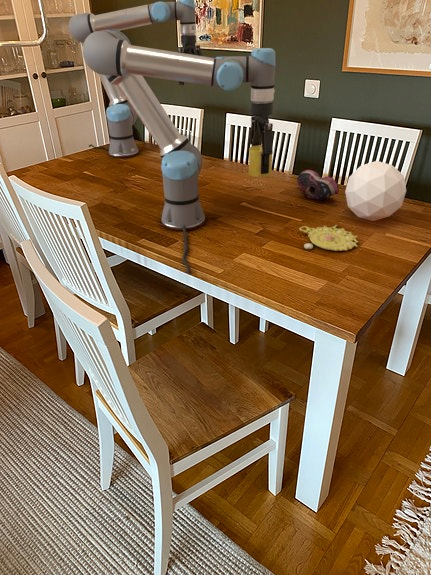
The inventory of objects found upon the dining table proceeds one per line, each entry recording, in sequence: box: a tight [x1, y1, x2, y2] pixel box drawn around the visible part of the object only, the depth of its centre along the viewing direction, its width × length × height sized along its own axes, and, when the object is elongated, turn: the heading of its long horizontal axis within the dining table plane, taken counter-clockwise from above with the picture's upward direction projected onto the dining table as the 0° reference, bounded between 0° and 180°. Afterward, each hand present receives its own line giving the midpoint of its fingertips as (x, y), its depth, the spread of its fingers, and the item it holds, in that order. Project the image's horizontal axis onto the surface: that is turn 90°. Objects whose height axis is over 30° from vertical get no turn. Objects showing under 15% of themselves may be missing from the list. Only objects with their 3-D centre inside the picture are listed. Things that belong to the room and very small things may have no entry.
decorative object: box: [299, 224, 359, 252], centre depth 141 cm, size 21×2×20 cm
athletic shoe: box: [294, 169, 340, 201], centre depth 171 cm, size 11×22×12 cm
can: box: [248, 144, 273, 178], centre depth 156 cm, size 8×8×9 cm
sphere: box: [344, 160, 407, 222], centre depth 150 cm, size 19×20×20 cm
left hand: (190, 83), depth 223 cm, fingers open, 13 cm apart
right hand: (260, 169), depth 158 cm, fingers closed on can, 8 cm apart
